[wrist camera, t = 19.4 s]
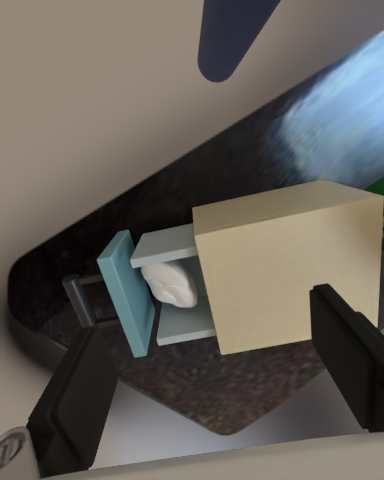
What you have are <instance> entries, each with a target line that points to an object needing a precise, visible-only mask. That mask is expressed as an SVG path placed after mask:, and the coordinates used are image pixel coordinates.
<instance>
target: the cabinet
mask: <svg viewBox="0 0 384 480" xmlns="http://www.w3.org/2000/svg"><path fill="white" fill-rule="evenodd" d="M383 205H384V196H382V195H379V194H374V193H371V192H367V191H364V190H360V189H356V188H353V187H349V186H346V185H342V184H338V183H335V182H331V181H328V180H325V179H322V180H317V181H313V182H308V183H304V184H299V185H294V186H290V187H285V188H281V189H276V190H271V191H267V192H262V193H258V194H253V195H248V196H244V197H239V198H235V199H230V200H225V201H221V202H216V203H212V204H207V205H202V206H198V207H193V208H192V211H193V227H194V238H195V243H196V247H197V251H198V256H199V260H200V264H201V269H202V273H203V277H204V282H205V286H206V290H207V295H208V299H209V303H210V308H211V312H212V317H213V321H214V325H215V330H216V334H217V338H218V343H219V347H220V351H221V355H225V354H230V353H236V352H241V351H247V350H253V349H258V348H264V347H269V346H275V345H280V344H286V343H292V342H297V341H303V340H308V339H312V338H311V319H310V298H309V291H310V290H312V289H313V286H315V285H320V284H326V283H328V284H330V285H331V286H332V287H333V288H334V289H335V291H336V292H337V293H338V294H339V295H340V296H341V297H342V298H343V299H344V300H345V301H346V302H347V303H348V305H349V306H350V307H351V308H352V309H353V310H354V311H355V312H357V311H359V312H361V313H362V314H364V315H365V316H366V317H367V318H368V319H369V320H370V321H371V323H372V324H373V325H374V326H375V327H377V325H378V305H379V285H380V265H381V245H382V225H383Z"/></svg>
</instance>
